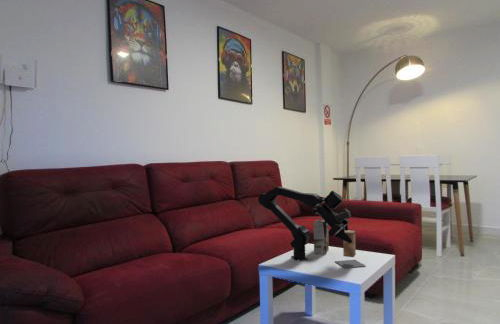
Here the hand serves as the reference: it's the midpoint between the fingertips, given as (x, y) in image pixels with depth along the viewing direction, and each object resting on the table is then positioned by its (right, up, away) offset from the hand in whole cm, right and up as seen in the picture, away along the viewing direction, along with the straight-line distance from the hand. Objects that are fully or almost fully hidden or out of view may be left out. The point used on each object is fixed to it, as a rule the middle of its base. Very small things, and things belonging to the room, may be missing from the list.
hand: (352, 241), depth 162 cm
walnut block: (-1, -7, +1) cm, 7 cm away
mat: (-1, -11, +1) cm, 11 cm away
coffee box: (-9, -11, +24) cm, 28 cm away
